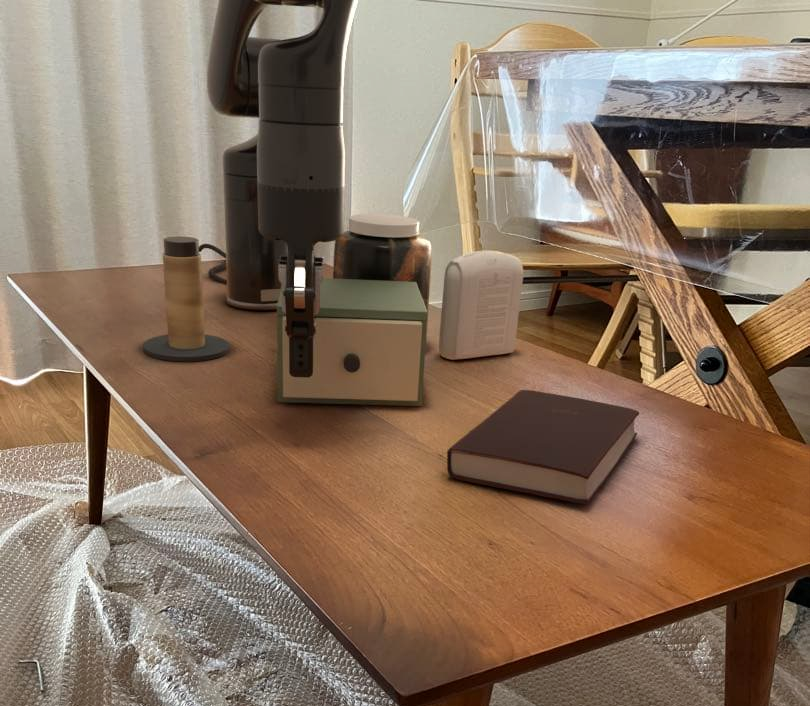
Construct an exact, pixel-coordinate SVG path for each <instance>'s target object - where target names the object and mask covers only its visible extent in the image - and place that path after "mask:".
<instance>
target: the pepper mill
mask: <svg viewBox="0 0 810 706" xmlns="http://www.w3.org/2000/svg"><path fill="white" fill-rule="evenodd" d="M199 246H200V245H199V239H198V238H196V237H192V236H167V237H164V238H163V253H162V262H163V263H162V264H163V265H162V268H163V280H164V297H165V311H166V325H167V327H166V328H167V335H168V342H169V346H170V347H172V348H176V349H183V350H190V349H198V348H201V347H203V346H205V335H206V333H205V332H206V331H205V330H206V329H205V314H204V312H205V311H204V291H203V290H204V289H203V271H202V254H201V252H199Z"/></svg>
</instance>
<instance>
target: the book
mask: <svg viewBox="0 0 810 706" xmlns="http://www.w3.org/2000/svg"><path fill="white" fill-rule="evenodd" d="M639 415H640V411H639V410H636V409H633V408H631V407H625V406H621V405H615V404H611V403H606V402H601V401H595V400H589V399H585V398H580V397H573V396H569V395H561V394H556V393H550V392H543V391H537V390H531V389H521V390H519V391H517V392H516V393H515V394H514V395H513V396H512V397H510V398H509V399H508V400H507V401H506V402H505V403H503V404H502V405H501V406H500V407H498V408H497V409H496V410H494V412H492V413H491V414H490V415H489V416H488V417H486V418H485V419H484V420H483V421H481V422H480V423H479V424H477V425H476V426H475V427H474V428H473V429H471V430H470V431H468V433H466V434H465V435H464V436H463V437H461V438H460V439H458V441H456V442H455V443H454V444H453V445H452V446H451V447H449V448H448V450H447V451H446V461H447V463H446V464H447V465H446V466H447V469H446V470H447V473H448V476H449V477H450V478H452V479H456V480H458V481H464V482H468V483H473V484H478V485H484V486H489V487H494V488H499V489H503V490H509V491H512V492H513V491H514V492H520V493H526V494H531V495H535V496H540V497H545V498H550V499H554V500H555V499H556V500H561V501H566V502H570V503H575V504H583V505H585V504H586V505H588V503H589V502H590V501H591V500H592V499H593V498H594V497H595V495H596V494H597V492H598V491H599V489H600V488H601V487H602V485H603V484H604V483H605V482H606V480H608V477H609V476H610V474H612V473H613V471H614V469H615V467H616V466H617V464H618V463H619V462H620V460H622V458H623V457H624V455H625V453H626V452H627V450H628V449H629V448H630V446H631V445H632V443H633V442H634V440H636V437H637V435H638V432H636V431H635V420H636V418H637V417H639Z"/></svg>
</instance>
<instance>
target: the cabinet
mask: <svg viewBox="0 0 810 706" xmlns="http://www.w3.org/2000/svg"><path fill="white" fill-rule="evenodd" d="M284 316H286V314H285V313H283V311H282V287H281V290H280V295H279V299H278V304H277V310H276V347H277V348H276V349H277V350H276V351H277V352H276V353H277V354H276V355H277V356H276V357H277V358H276V359H277V360H276V361H277V368H276V369H277V370H276V371H277V403H289V404H290V403H291V404H294V403H295V404H297V403H298V404H328V405H329V404H330V405H363V406H364V405H365V406H366V405H367V406H398V407H399V406H401V407H403V406H404V407H422V405H423V393H424V392H423V390H424V388H423V387H424V377H425V362H426V361H425V359H426V346H427V339H426V332H427V333H428V325H427V316H428V317H429V311H428V312H427V309H426V307H425V304H424V301H423V299H422V296H421V294H420V291H419V288H418V286H417V283H416V282H405V281H380V280H355V279H333V278H327V277H323V281H322V283H321V284H320V312H319V313H318V314H317V315H316V317H340V318H368V319H395V320H412V321H421V323H422V336H421V351H420V367H419V383H418V399H417V401H399V400H364V399H329V398H294V397H283V317H284Z"/></svg>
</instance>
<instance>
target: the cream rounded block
mask: <svg viewBox="0 0 810 706" xmlns="http://www.w3.org/2000/svg"><path fill="white" fill-rule="evenodd" d="M443 276H444V278H443V289H442V300H441V312H440V326H439V339H438V352H439V354H440V356H441V357H442V358H445V359H447V360H451V361H455V360H456V361H457V360H464V359H473V358H480V357H488V356H497V355H498V356H499V355H505V354H512V353H513V352H514V351H515V347H516V342H517V341H516V339H517V332H518V323H519V313H520V306H521V297H522V291H523V283H524V282H523V281H524V266H523V263H522V261H521V259H520V258H519V257H517V256H515V255H512V254H510V253H506V252H502V251H498V250H487V249H486V250H485V249H483V250H476V251H472V252H471V251H470V252H468V253H465V254H462V255H460V256H458V257H455V258H453V259H452V260H450V261H449V262H448V263H447V265H446V267H445V270H444V275H443Z"/></svg>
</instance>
